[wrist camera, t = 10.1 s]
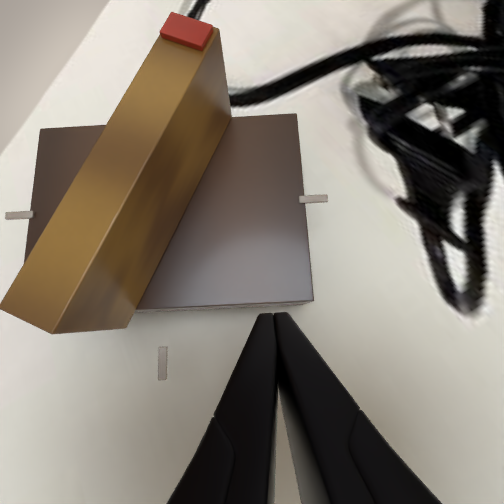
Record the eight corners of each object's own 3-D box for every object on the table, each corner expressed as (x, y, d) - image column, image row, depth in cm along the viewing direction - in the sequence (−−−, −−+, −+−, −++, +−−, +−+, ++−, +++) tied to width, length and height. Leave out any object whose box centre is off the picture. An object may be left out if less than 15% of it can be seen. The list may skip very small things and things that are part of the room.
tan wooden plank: (126, 328, 14) (46, 335, 9) (89, 311, 14) (-11, 308, 9) (232, 116, 16) (218, 22, 11) (198, 104, 16) (170, 5, 11)
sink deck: (40, 373, 17) (-20, 388, 13) (65, 120, 20) (24, 78, 17) (328, 359, 16) (346, 371, 13) (303, 106, 20) (312, 60, 16)
